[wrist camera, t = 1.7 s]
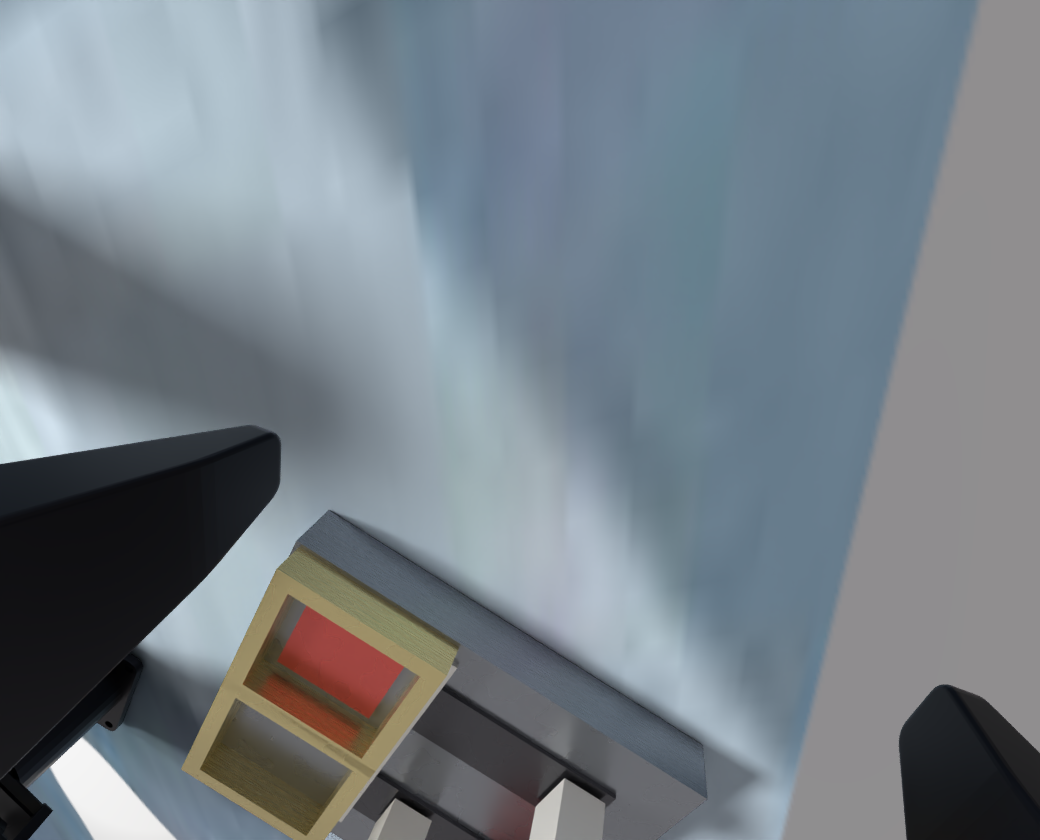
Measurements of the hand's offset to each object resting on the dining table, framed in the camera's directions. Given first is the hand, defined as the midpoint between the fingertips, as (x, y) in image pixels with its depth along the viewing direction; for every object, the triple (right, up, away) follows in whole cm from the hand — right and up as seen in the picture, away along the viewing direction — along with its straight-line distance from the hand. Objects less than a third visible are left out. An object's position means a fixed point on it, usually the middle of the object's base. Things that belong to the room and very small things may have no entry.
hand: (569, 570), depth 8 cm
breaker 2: (+1, -14, +17) cm, 22 cm away
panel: (-5, -13, +21) cm, 25 cm away
